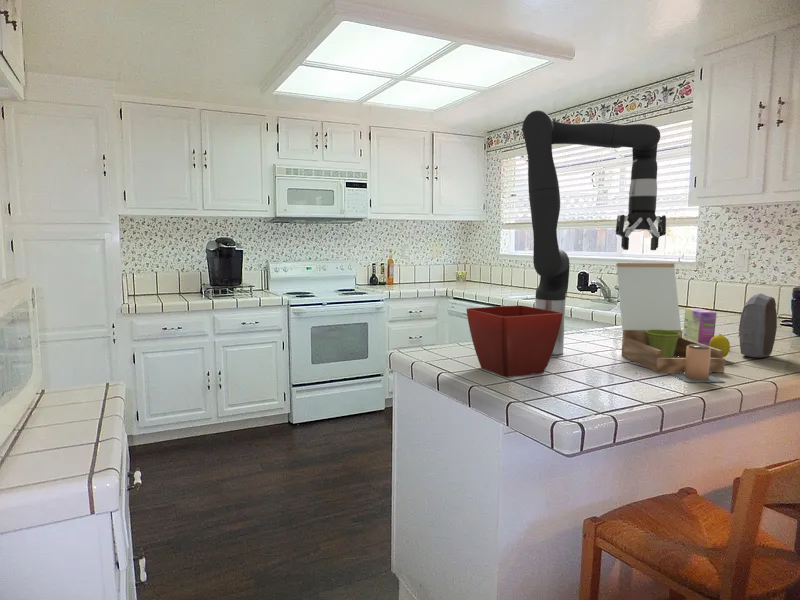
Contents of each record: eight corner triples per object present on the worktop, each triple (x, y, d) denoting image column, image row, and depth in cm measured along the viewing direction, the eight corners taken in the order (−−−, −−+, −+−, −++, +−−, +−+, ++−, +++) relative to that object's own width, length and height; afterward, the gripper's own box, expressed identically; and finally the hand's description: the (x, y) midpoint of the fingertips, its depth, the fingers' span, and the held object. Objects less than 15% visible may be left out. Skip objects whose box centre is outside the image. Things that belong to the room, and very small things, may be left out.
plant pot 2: (684, 364, 158) (686, 335, 157) (652, 363, 159) (654, 334, 158) (669, 357, 168) (671, 329, 167) (639, 356, 168) (640, 329, 167)
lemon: (727, 359, 166) (729, 333, 165) (729, 362, 161) (732, 336, 160) (707, 357, 168) (708, 331, 167) (708, 360, 163) (710, 334, 162)
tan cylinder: (692, 380, 139) (694, 348, 138) (680, 374, 144) (682, 344, 143) (713, 380, 139) (715, 348, 138) (700, 374, 145) (702, 344, 144)
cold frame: (658, 373, 147) (660, 344, 146) (621, 355, 169) (622, 330, 168) (724, 373, 148) (726, 344, 147) (678, 355, 170) (680, 330, 169)
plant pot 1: (463, 366, 154) (464, 307, 152) (519, 360, 161) (521, 304, 159) (501, 382, 136) (503, 316, 134) (562, 375, 144) (564, 313, 142)
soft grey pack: (759, 361, 162) (765, 295, 160) (729, 356, 169) (734, 293, 167) (776, 355, 172) (781, 292, 170) (746, 350, 178) (751, 290, 176)
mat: (686, 382, 138) (686, 381, 137) (669, 374, 145) (669, 373, 145) (724, 382, 138) (725, 381, 138) (706, 374, 146) (706, 373, 146)
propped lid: (622, 356, 169) (627, 264, 166) (606, 348, 181) (610, 262, 177) (679, 356, 170) (685, 264, 167) (659, 348, 181) (665, 262, 178)
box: (714, 346, 186) (716, 312, 185) (697, 345, 186) (700, 311, 185) (698, 340, 197) (700, 308, 195) (682, 340, 197) (684, 308, 195)
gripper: (625, 194, 157) (621, 250, 159) (673, 194, 157) (669, 250, 159) (613, 196, 164) (611, 249, 166) (659, 196, 165) (656, 250, 167)
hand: (639, 250), depth 163 cm, fingers open, 8 cm apart
